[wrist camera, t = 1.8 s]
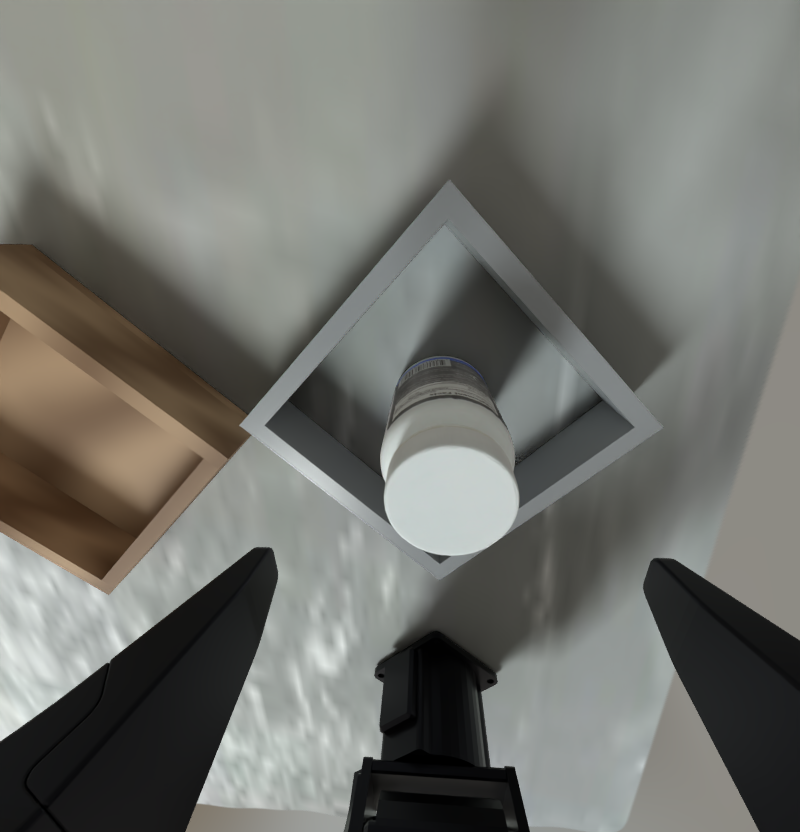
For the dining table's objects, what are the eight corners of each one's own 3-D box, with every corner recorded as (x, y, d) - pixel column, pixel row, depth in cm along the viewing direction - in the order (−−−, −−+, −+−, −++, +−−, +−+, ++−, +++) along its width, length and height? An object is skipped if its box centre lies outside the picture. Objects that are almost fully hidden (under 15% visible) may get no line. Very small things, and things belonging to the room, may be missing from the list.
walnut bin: (260, 424, 20) (228, 458, 16) (150, 548, 24) (108, 595, 21) (31, 244, 17) (-63, 243, 13) (-48, 423, 21) (-133, 454, 18)
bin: (627, 400, 18) (663, 427, 15) (437, 539, 22) (439, 580, 19) (445, 191, 15) (449, 179, 12) (266, 400, 19) (239, 425, 16)
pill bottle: (470, 451, 20) (498, 582, 12) (383, 428, 19) (355, 547, 12) (503, 368, 18) (562, 459, 10) (407, 341, 17) (392, 414, 10)
